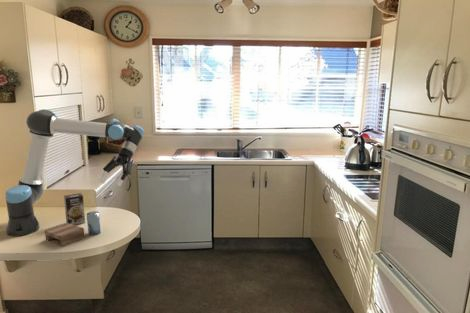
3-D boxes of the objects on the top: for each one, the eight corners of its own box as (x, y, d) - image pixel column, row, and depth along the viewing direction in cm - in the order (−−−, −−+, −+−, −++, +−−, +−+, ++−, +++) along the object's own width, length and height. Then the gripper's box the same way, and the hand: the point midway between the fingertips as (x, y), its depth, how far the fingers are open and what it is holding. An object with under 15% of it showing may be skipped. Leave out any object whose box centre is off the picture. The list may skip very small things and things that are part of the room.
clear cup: (85, 233, 186) (84, 214, 184) (95, 229, 191) (93, 210, 189) (93, 236, 183) (91, 216, 181) (103, 232, 188) (101, 212, 186)
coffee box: (68, 226, 196) (65, 198, 193) (66, 222, 201) (63, 195, 198) (85, 222, 201) (83, 195, 198) (83, 219, 206) (80, 192, 203)
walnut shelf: (45, 240, 179) (44, 230, 178) (67, 231, 189) (66, 222, 188) (63, 246, 172) (61, 236, 171) (84, 237, 182) (83, 228, 181)
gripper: (147, 155, 198) (129, 189, 190) (117, 152, 212) (99, 184, 203) (138, 148, 193) (120, 182, 184) (108, 146, 206) (90, 178, 197)
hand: (109, 183), depth 193 cm, fingers open, 13 cm apart
